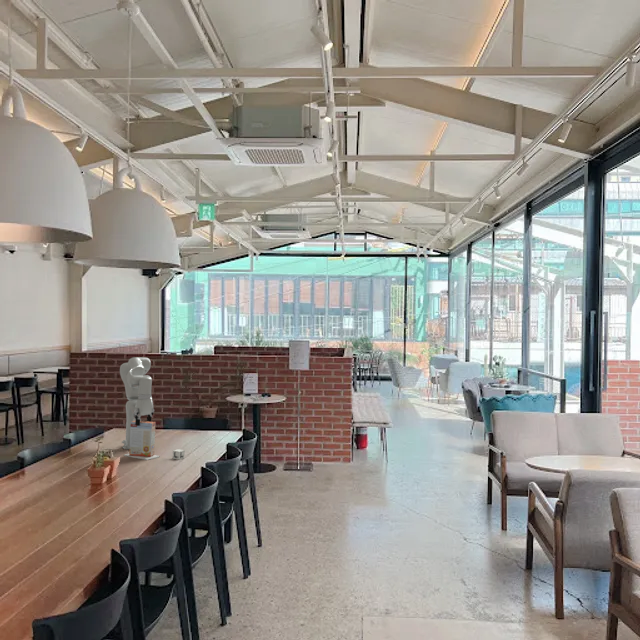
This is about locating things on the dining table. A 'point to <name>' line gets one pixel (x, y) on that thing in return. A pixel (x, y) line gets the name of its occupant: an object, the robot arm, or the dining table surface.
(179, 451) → the off-white cubic block
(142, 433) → the cracker box
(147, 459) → the white mat
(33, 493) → the dining table surface
